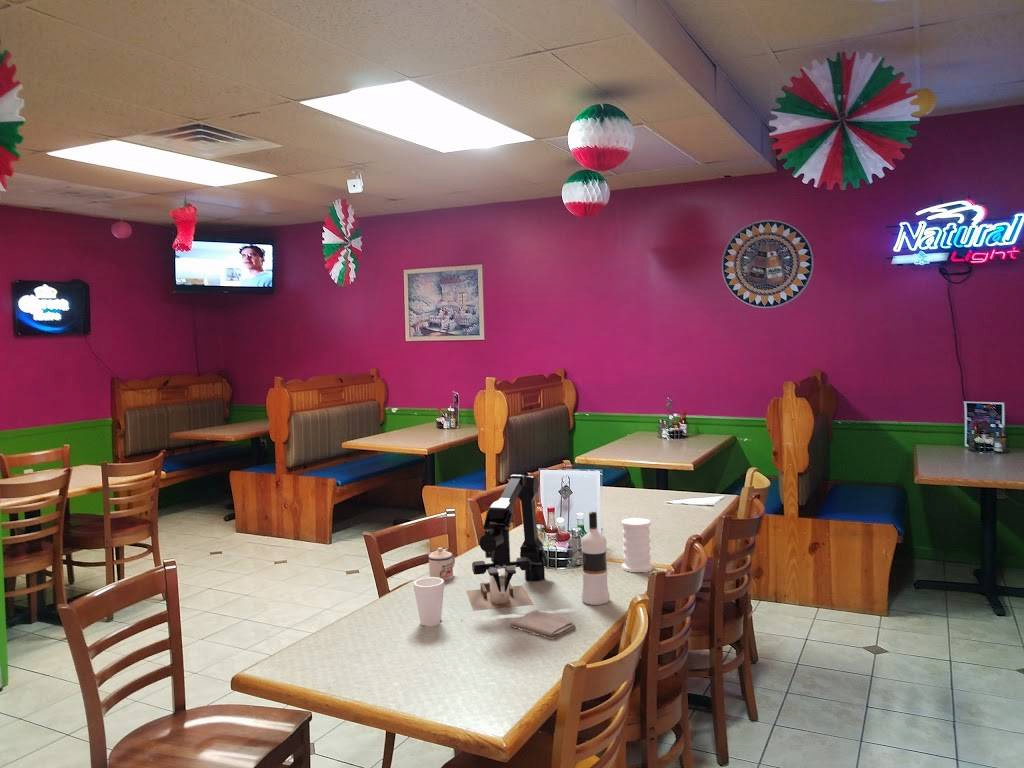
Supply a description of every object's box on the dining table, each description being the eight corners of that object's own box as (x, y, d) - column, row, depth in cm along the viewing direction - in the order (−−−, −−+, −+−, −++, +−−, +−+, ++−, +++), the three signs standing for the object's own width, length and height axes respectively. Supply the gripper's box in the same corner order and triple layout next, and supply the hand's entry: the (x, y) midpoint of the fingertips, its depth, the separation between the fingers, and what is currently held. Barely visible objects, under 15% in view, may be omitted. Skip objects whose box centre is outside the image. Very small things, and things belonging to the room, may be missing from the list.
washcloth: (554, 642, 221) (554, 631, 221) (507, 628, 233) (507, 618, 233) (578, 629, 230) (577, 619, 230) (532, 617, 242) (531, 607, 242)
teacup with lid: (442, 584, 276) (440, 552, 276) (424, 580, 282) (422, 549, 281) (463, 575, 286) (462, 544, 285) (446, 571, 291) (444, 541, 291)
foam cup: (450, 618, 242) (448, 578, 241) (438, 629, 233) (436, 587, 232) (423, 615, 245) (421, 576, 244) (410, 626, 236) (408, 585, 236)
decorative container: (643, 562, 294) (642, 516, 293) (658, 570, 283) (657, 522, 282) (616, 566, 290) (615, 519, 289) (630, 574, 279) (629, 526, 278)
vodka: (577, 599, 255) (574, 510, 253) (601, 594, 258) (599, 507, 257) (589, 607, 247) (586, 516, 245) (614, 603, 250) (611, 513, 248)
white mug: (489, 597, 256) (488, 571, 256) (507, 596, 257) (507, 570, 257) (493, 608, 247) (492, 581, 246) (512, 606, 248) (512, 579, 247)
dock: (522, 588, 269) (522, 578, 268) (533, 607, 249) (533, 596, 249) (466, 593, 265) (465, 583, 265) (473, 613, 245) (472, 602, 245)
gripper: (524, 536, 256) (526, 581, 257) (469, 540, 253) (471, 586, 254) (530, 544, 245) (532, 592, 246) (473, 549, 242) (475, 597, 243)
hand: (502, 591), depth 247 cm, fingers closed on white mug
